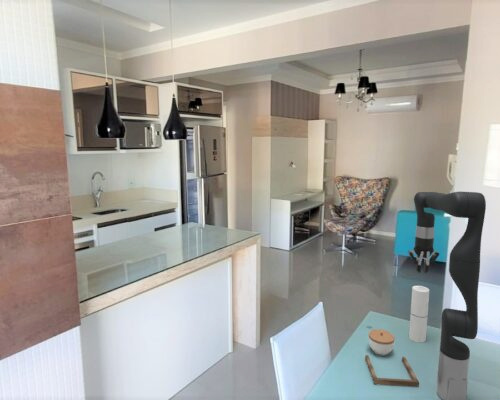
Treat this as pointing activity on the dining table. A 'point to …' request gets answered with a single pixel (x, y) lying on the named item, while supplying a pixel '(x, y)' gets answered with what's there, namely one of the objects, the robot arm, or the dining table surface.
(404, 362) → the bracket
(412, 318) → the cylindrical container
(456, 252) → the robot arm
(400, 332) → the dining table surface
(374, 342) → the lidded jar
